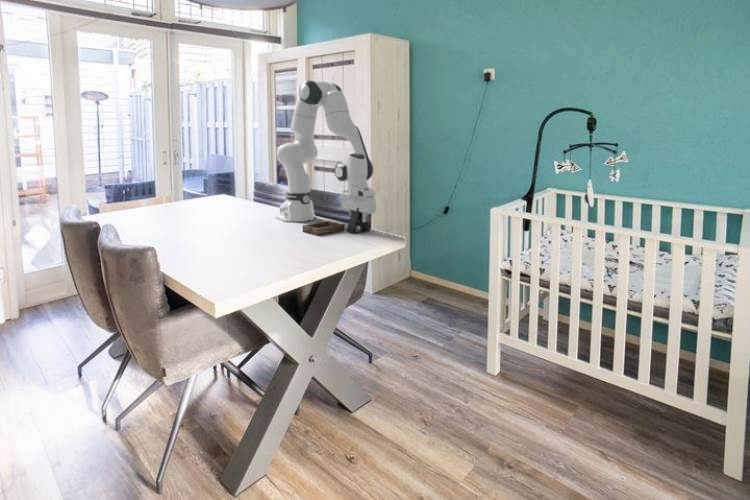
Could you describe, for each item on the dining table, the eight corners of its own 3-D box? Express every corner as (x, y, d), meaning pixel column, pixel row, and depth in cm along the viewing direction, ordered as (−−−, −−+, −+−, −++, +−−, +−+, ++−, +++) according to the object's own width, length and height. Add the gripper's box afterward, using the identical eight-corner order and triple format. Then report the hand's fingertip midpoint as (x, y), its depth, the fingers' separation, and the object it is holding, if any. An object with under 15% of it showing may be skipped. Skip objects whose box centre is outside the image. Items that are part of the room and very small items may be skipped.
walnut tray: (302, 231, 241) (302, 225, 240) (328, 227, 251) (328, 221, 250) (318, 236, 232) (318, 229, 232) (344, 230, 242) (344, 224, 241)
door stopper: (352, 233, 236) (351, 207, 232) (346, 230, 241) (346, 205, 238) (369, 231, 240) (369, 205, 237) (364, 228, 245) (363, 203, 242)
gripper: (337, 188, 241) (338, 218, 244) (367, 193, 226) (367, 225, 230) (348, 187, 245) (348, 216, 248) (378, 192, 230) (378, 223, 234)
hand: (358, 220), depth 239 cm, fingers closed on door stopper, 6 cm apart
